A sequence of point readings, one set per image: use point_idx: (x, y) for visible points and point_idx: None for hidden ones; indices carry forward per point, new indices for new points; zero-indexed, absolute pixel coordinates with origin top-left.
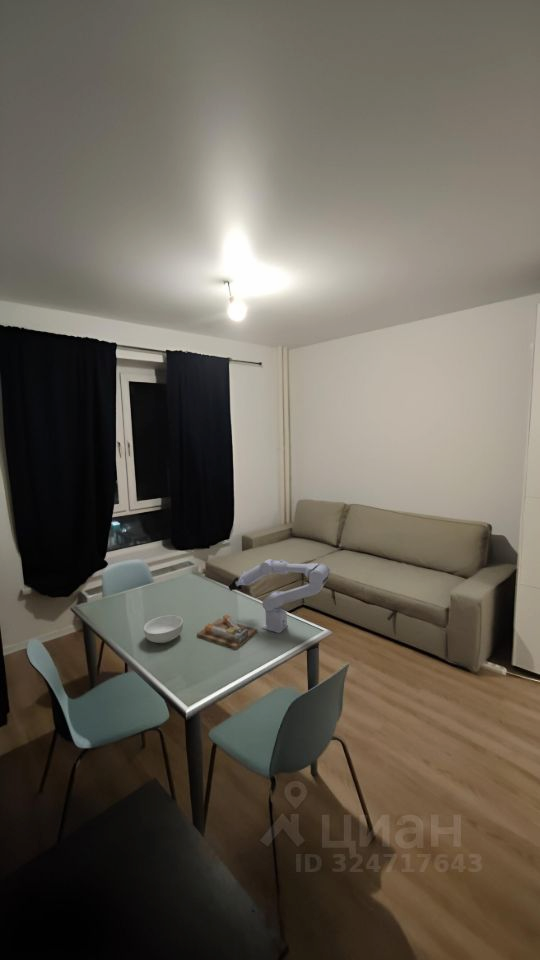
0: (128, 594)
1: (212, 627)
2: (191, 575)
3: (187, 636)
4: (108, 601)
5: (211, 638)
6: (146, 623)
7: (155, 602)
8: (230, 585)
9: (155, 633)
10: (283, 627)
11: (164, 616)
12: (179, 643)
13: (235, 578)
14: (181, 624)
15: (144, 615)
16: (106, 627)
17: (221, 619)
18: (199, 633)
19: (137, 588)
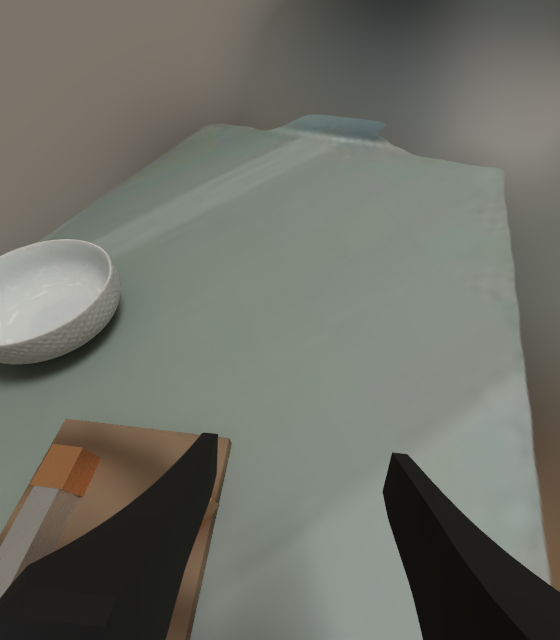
0: (297, 142)
1: (35, 496)
2: (494, 174)
3: (78, 386)
4: (249, 137)
5: (5, 526)
6: (45, 241)
7: (286, 194)
8: (181, 462)
9: (75, 287)
10: None
11: (104, 257)
12: (21, 389)
13: (8, 619)
14: (17, 344)
15: (206, 211)
16: (128, 188)
17: (222, 456)
18: (66, 430)
19: (334, 139)
